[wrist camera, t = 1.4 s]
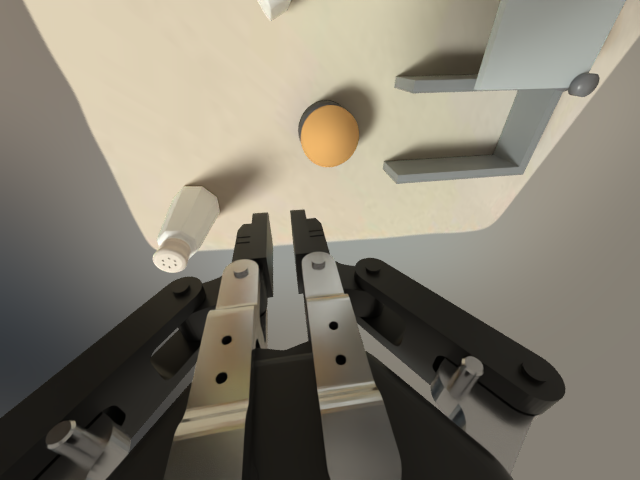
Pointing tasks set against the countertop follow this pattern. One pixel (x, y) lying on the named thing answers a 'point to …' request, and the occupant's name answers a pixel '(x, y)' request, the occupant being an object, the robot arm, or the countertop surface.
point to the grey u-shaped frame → (511, 148)
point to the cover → (546, 44)
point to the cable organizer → (274, 7)
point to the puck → (328, 133)
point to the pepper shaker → (185, 227)
